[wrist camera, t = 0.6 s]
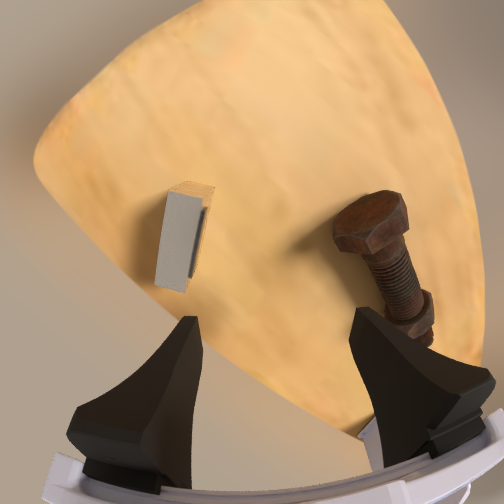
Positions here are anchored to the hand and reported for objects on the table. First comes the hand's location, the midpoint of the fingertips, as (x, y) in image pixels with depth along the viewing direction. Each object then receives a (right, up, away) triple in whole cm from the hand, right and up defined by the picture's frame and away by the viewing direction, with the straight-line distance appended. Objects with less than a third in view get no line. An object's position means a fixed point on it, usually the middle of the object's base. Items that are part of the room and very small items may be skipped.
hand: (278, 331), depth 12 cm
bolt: (+10, +1, +10) cm, 14 cm away
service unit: (-6, +6, +8) cm, 11 cm away
